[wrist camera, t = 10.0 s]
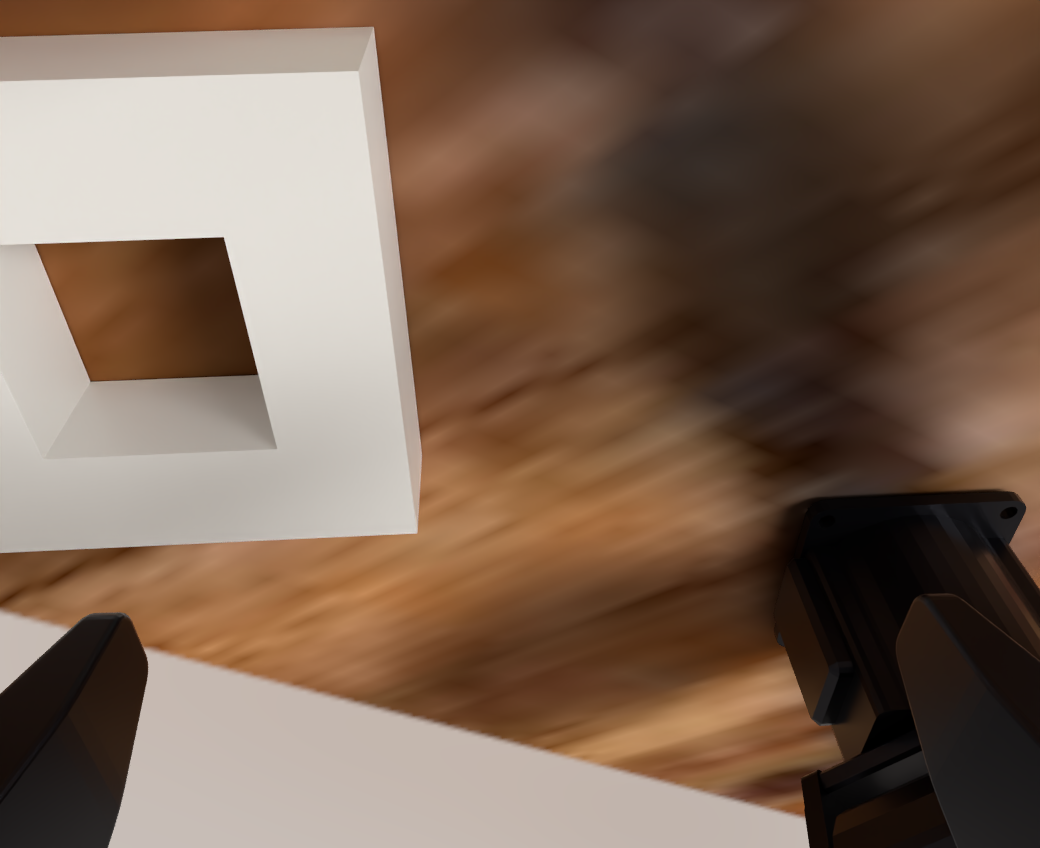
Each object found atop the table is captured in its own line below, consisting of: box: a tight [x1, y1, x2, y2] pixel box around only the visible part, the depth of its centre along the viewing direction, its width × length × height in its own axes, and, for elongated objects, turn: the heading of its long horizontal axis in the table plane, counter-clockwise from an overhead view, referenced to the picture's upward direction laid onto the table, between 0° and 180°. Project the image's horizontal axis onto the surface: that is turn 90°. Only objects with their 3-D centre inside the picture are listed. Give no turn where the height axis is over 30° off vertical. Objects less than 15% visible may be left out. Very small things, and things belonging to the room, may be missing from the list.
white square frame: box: [0, 27, 422, 553], centre depth 18 cm, size 11×11×3 cm
